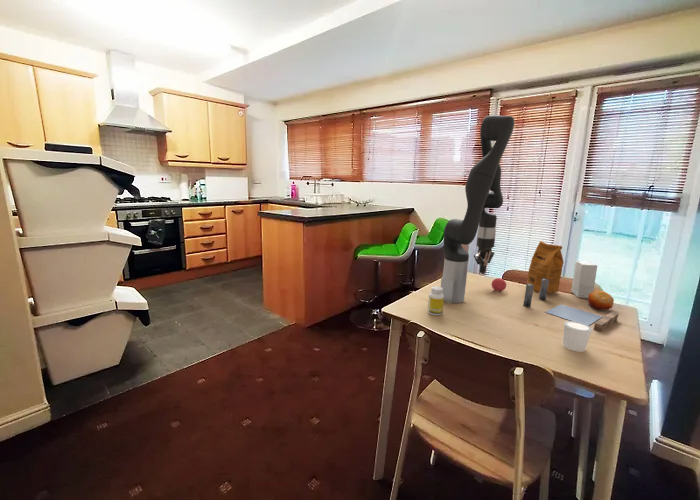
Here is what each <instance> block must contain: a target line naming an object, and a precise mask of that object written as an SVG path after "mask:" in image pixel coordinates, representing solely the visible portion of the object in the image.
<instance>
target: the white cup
mask: <svg viewBox="0 0 700 500" xmlns="http://www.w3.org/2000/svg"><path fill="white" fill-rule="evenodd" d="M592 331H593V329H592V327H591V326H590V325H589V326H587V325H585V324H583V323H579V322H574V321H569V320H566V321H564V323H563V333H562V335H563V336H562V345H563V346H564V348H566V349H568V350H570V351H573V352H576V353H577V352H579V353H583V352H585V351H586V348H587V346H588V343H589V339H590V336H591V333H592Z"/></svg>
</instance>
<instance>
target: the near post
mask: <svg viewBox="0 0 700 500" xmlns="http://www.w3.org/2000/svg"><path fill="white" fill-rule="evenodd" d="M533 289H534V285H533V284H527V283H526V285H525V293H524V298H523V304H522V306H523V307H525V308H531V306H532V302H533V301H532V300H533V295H534V294H533V293H534V290H533Z"/></svg>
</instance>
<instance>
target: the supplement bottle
mask: <svg viewBox="0 0 700 500" xmlns="http://www.w3.org/2000/svg"><path fill="white" fill-rule="evenodd" d="M430 291H431V292H429V293H428V301H427V303H428V304H427V313H428V314H429V313H430V314H429V315H432V316H441V315H442V314H443V311H444V310H443V309H444V302H445V301H444V295H443V294H442V292H443V288H441V286H431V289H430Z"/></svg>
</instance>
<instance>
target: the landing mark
mask: <svg viewBox="0 0 700 500" xmlns="http://www.w3.org/2000/svg"><path fill="white" fill-rule="evenodd" d="M544 312H545V314H548V315H551V316H555V317H557V318H561V319H564V320H566V321H574V322H579V323H583V324H585V325H587V326H589V327H590V326H591V325H592V324H595V322H597V321H598V320H600V319H601V318H603V316H601V315H599V314H595V313H593V312H588V311H584V310H583V309H579V308H576V307H572V306H568V305H565V304H562V303H561V304H559V305H556V306H554V307H553V308H550V309H548V310H546V311H544Z"/></svg>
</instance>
